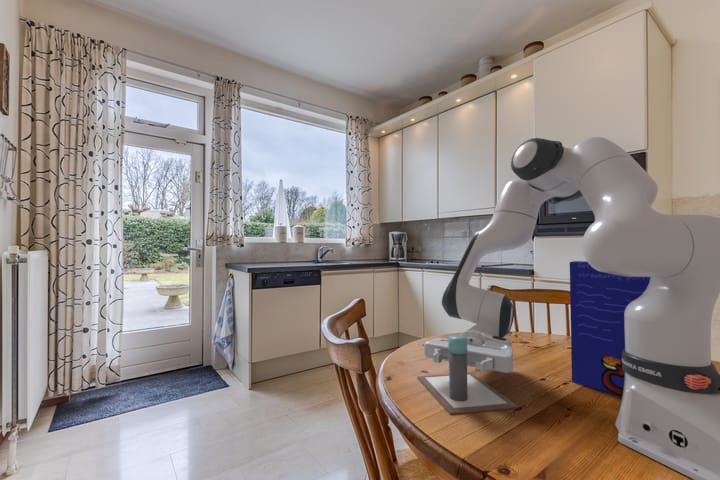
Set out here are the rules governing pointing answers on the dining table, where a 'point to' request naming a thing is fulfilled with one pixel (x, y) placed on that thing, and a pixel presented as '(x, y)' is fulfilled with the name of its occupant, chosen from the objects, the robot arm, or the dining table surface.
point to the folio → (478, 395)
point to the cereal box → (600, 325)
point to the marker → (457, 367)
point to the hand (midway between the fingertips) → (456, 363)
